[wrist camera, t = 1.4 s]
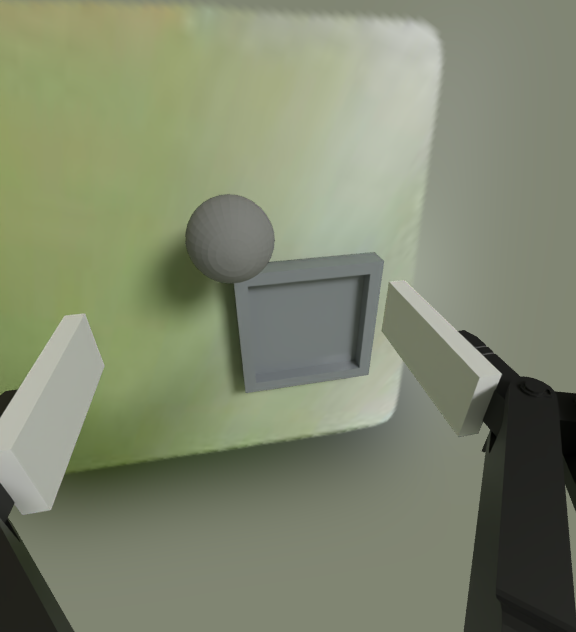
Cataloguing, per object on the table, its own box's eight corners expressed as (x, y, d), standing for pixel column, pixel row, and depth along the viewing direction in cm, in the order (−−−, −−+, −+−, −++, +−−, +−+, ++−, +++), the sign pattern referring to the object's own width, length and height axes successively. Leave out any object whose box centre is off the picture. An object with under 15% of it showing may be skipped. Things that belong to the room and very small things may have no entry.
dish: (243, 379, 41) (245, 392, 39) (231, 265, 33) (233, 275, 31) (361, 362, 43) (368, 374, 41) (374, 252, 35) (384, 261, 34)
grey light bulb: (246, 254, 33) (260, 309, 25) (180, 231, 31) (171, 283, 22) (271, 191, 30) (296, 229, 22) (202, 161, 28) (201, 192, 20)
